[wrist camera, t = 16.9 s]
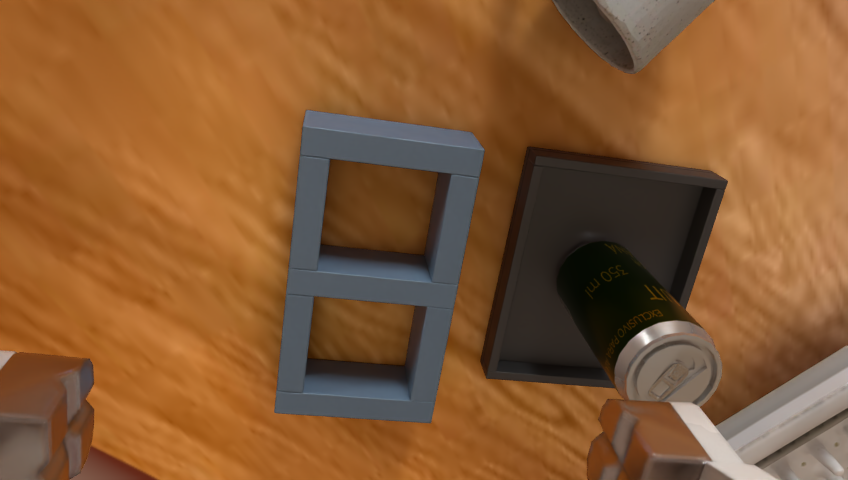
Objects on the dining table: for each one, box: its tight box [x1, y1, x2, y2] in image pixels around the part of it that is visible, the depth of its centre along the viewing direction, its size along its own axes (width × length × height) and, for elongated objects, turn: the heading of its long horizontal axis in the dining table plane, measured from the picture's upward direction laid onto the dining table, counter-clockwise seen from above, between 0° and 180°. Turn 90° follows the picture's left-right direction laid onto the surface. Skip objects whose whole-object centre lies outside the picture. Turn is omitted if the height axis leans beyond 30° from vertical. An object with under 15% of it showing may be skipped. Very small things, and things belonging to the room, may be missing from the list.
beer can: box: [557, 241, 722, 407], centre depth 40 cm, size 5×5×12 cm
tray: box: [480, 147, 728, 388], centre depth 45 cm, size 15×12×2 cm
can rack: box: [274, 110, 485, 423], centre depth 42 cm, size 18×10×4 cm, turn 171°
